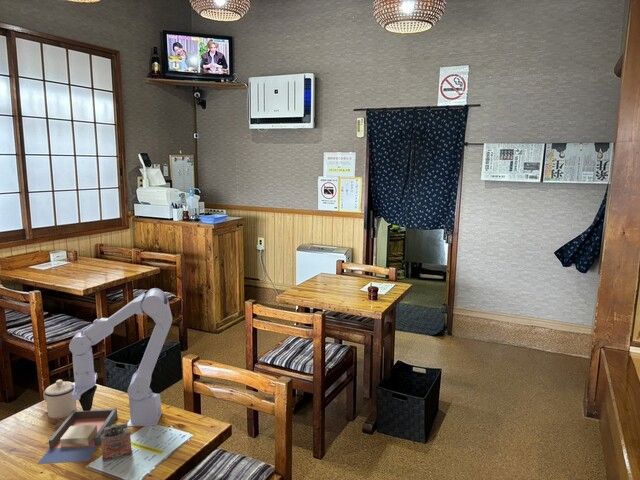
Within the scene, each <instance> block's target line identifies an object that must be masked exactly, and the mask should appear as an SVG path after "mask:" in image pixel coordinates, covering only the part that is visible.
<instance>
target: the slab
mask: <svg viewBox="0 0 640 480" xmlns="http://www.w3.org/2000/svg"><path fill="white" fill-rule="evenodd" d="M96 433H97V425H84V426H70V427H69V428H68V430H67V431H66V432H65V433H64V435H63V436H62V437H61V439H60V444H61V447H67V446H87V445H89V444H90V442H91V441H92V439H93V438H94V436H95V435H96Z"/></svg>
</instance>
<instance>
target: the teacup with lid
mask: <svg viewBox="0 0 640 480" xmlns="http://www.w3.org/2000/svg"><path fill="white" fill-rule="evenodd" d="M72 383H73V382H71V381H65V380H64V381H63V379H57V380H56V381H55V383H52V384H51V385H49V386H48V387H46V388H45V390H44V392H43V394H42V395H43V396H42V397H43V400H44V402H45V403H46V409H47V416H48V418H50V419H60V418H66V417H68V416H69V415H70V414H71V413H72V411H73V410H78V409H77V400H72V394H73V392H74V387H71V384H72Z"/></svg>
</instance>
